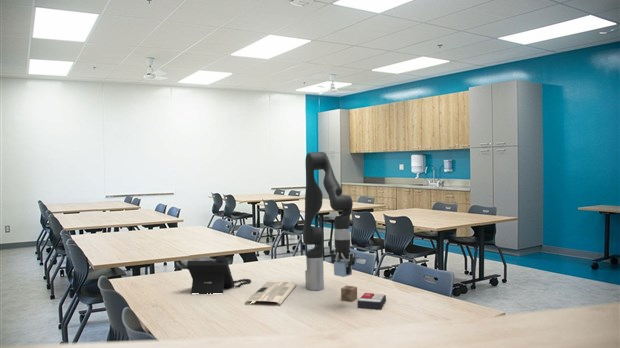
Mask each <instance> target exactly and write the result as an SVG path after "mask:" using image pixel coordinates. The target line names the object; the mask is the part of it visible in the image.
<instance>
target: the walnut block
mask: <svg viewBox="0 0 620 348" xmlns="http://www.w3.org/2000/svg"><path fill="white" fill-rule="evenodd" d="M340 300H341V301H344V302H350V303H353V302H355V301H357V300H358V286H355V285H354V286H353V285H344V286H343V287H341V288H340Z"/></svg>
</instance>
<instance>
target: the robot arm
mask: <svg viewBox="0 0 620 348" xmlns="http://www.w3.org/2000/svg"><path fill="white" fill-rule="evenodd" d="M304 163H305V165H304V166H305V195H304V218H303V219H304V222H303V229H302V241H303V244H304V245H307V246H310V245H311V246H313V245H315V246H314V247H312V249H309V250H308V251H306V253H305V257H306V258H305V261H306V265H305V266H306V270H304V271H305V273H304V274H305V276H304V277H305V288H306V289H307V290H309V291H321V290H324V288H325V279H324V278H325V274H324V230H323V228H322V227H320V226H316V227H312V223H313V221H314V220H315V217H316V216H317V214H318V213H319V212H320V210H321V208H322V207H323V195H324V194H323V191H322V189H321V188H320V185H319V184H318V182H317V181H316V178H315V171H317V170H318V171H319V170H323V171H324V177H323V183H322V185H323V187H324V190H325V191H326V193H327V195H328V200H329V205H330V208H331V209H332V211H335V212H341V211H342V212H341V213H340V214H339V215H337V216H335V217H334V230H333V233H334V234H333V235H334V236H333V237H334V241H333V242H334V248H335V249H331V250H330V260H331V263H332V264H334V262H338V261H342V260H343V261H344V262H345V263H346V266H347V267H346V274H347V275H349V274H350V273H351V266H352V267H353V266H355V263H356V253H355V252H351V250H350V248H351V230H350V218H351V214H352V210H353V199H352V197H351V196H349V195H342V194H343V189H342V187H341V185H340V184H339V182H338V181H337V178H336V175H335V173H334V171H333V167H332V165H331V162H330V160H329V156H328V155H327V153H326V152H324V151H315V152H313V151H312V152H308V153H307V154H306V155H305V162H304ZM348 263H349V264H348ZM349 276H350V275H349Z"/></svg>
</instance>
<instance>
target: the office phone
mask: <svg viewBox="0 0 620 348" xmlns="http://www.w3.org/2000/svg"><path fill="white" fill-rule="evenodd" d="M186 263H187V264H186V267H187V269H188V272H189V274H190V277H191V278H192V281H191V282H192V283H191V291H190V294H191V293H199V294H207V293H208V294H210V293H211V294H213V293H223V294H224V287H233V289H235V288H234V287H239V288H241V287H242V286H244V285H248V284H250V283H251V282H252V279H250V278H241V279H238V280H234V279H233V276H232V275H233V274H232V272H231V269H230V265H229V261H228V259H227V257H226V256H224V255H219V256H218V257H216V260H187V262H186ZM241 281H242V282H241ZM236 282H240V283H239V284H238V285H237V283H236ZM247 283H248V284H247ZM243 284H244V285H243ZM241 285H242V286H241ZM240 286H241V287H240Z"/></svg>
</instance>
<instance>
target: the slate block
mask: <svg viewBox="0 0 620 348" xmlns="http://www.w3.org/2000/svg"><path fill="white" fill-rule="evenodd" d="M348 264H349V263H348ZM346 267H347V266H346V263H345V262H344V260H341V261H338V262H334V263H333V275H334V276H337V277H342V278H344V277H349V276H353V266H351V273H350V274H349V275H347V274H346Z"/></svg>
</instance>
